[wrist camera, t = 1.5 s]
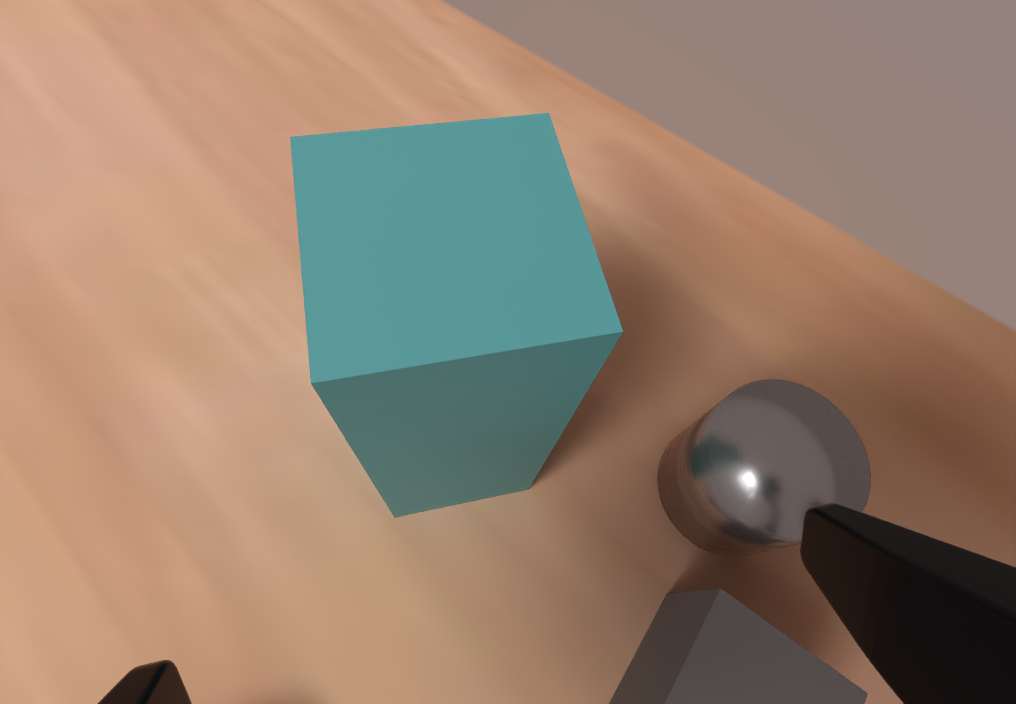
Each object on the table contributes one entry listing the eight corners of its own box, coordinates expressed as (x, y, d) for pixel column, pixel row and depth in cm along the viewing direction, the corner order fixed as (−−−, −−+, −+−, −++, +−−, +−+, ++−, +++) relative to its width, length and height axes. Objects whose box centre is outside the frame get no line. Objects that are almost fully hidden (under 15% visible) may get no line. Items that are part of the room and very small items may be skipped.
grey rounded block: (809, 498, 22) (901, 468, 17) (727, 586, 20) (806, 578, 16) (714, 402, 23) (777, 351, 19) (631, 477, 22) (677, 441, 17)
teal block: (528, 489, 21) (623, 331, 9) (394, 517, 20) (311, 382, 8) (500, 368, 23) (548, 112, 11) (377, 389, 22) (290, 137, 10)
